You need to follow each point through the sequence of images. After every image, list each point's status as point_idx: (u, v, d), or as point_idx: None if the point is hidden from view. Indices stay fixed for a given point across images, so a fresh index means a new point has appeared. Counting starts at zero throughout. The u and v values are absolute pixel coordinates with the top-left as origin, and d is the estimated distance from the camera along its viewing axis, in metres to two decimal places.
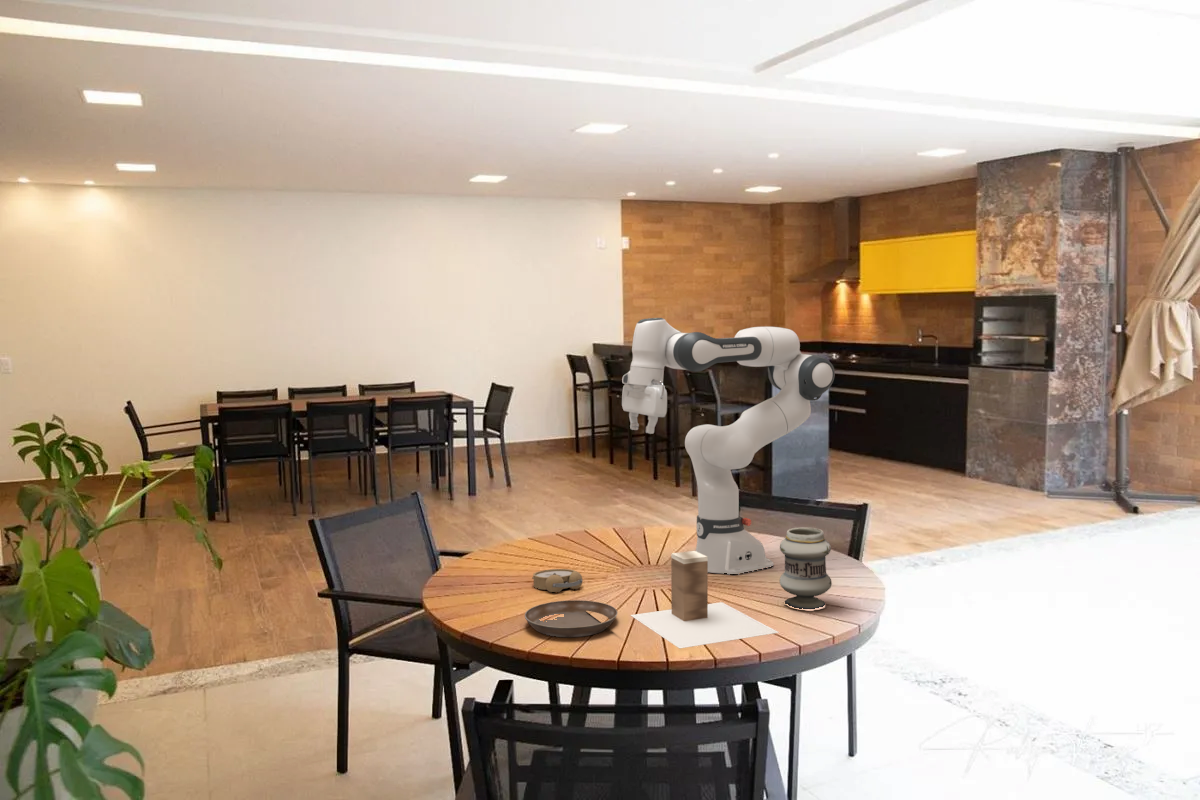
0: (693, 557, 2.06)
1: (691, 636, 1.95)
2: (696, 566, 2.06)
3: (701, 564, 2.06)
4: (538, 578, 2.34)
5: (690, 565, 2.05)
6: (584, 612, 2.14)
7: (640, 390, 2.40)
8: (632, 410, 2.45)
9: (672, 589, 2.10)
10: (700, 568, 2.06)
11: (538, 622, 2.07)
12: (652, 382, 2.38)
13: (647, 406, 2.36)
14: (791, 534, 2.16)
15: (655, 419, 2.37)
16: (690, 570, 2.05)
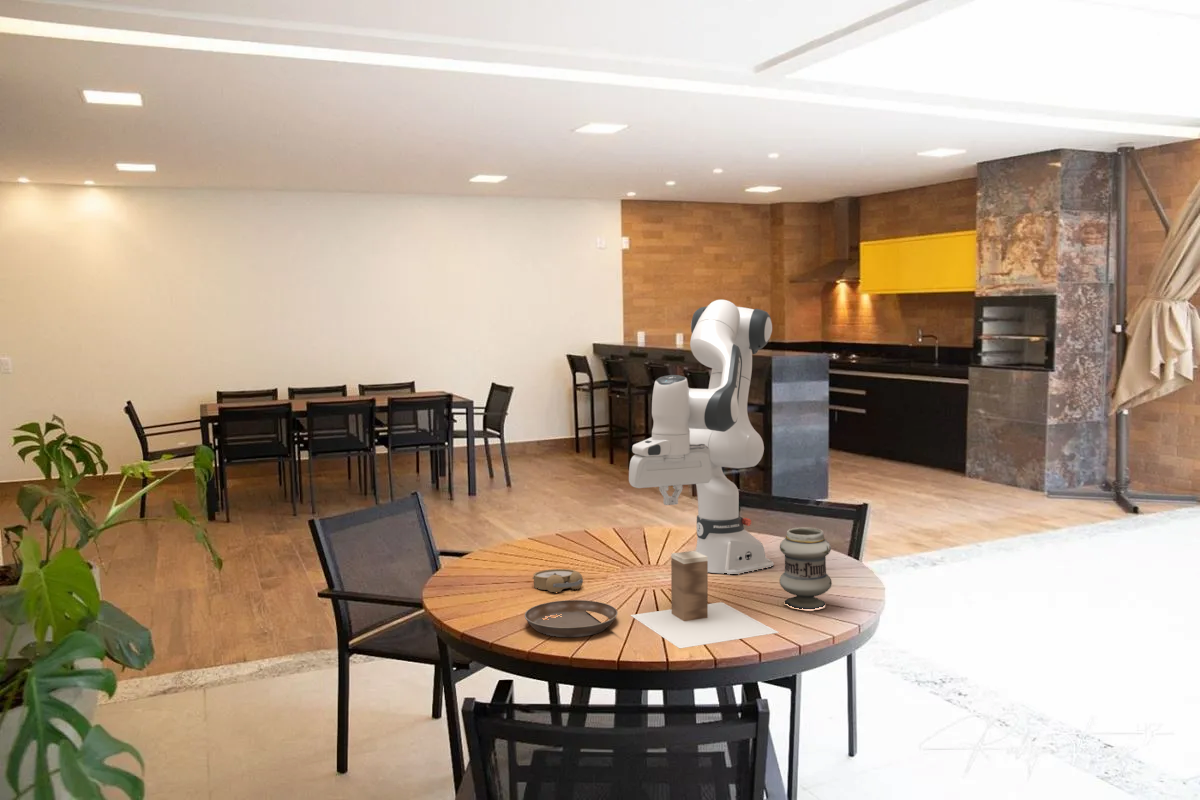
0: (693, 557, 2.06)
1: (691, 636, 1.95)
2: (696, 566, 2.06)
3: (701, 564, 2.06)
4: (538, 578, 2.34)
5: (690, 565, 2.05)
6: (584, 612, 2.14)
7: (683, 459, 2.14)
8: (662, 484, 2.13)
9: (672, 589, 2.10)
10: (700, 568, 2.06)
11: (538, 622, 2.07)
12: (690, 447, 2.16)
13: (696, 474, 2.16)
14: (791, 534, 2.16)
15: None
16: (690, 570, 2.05)
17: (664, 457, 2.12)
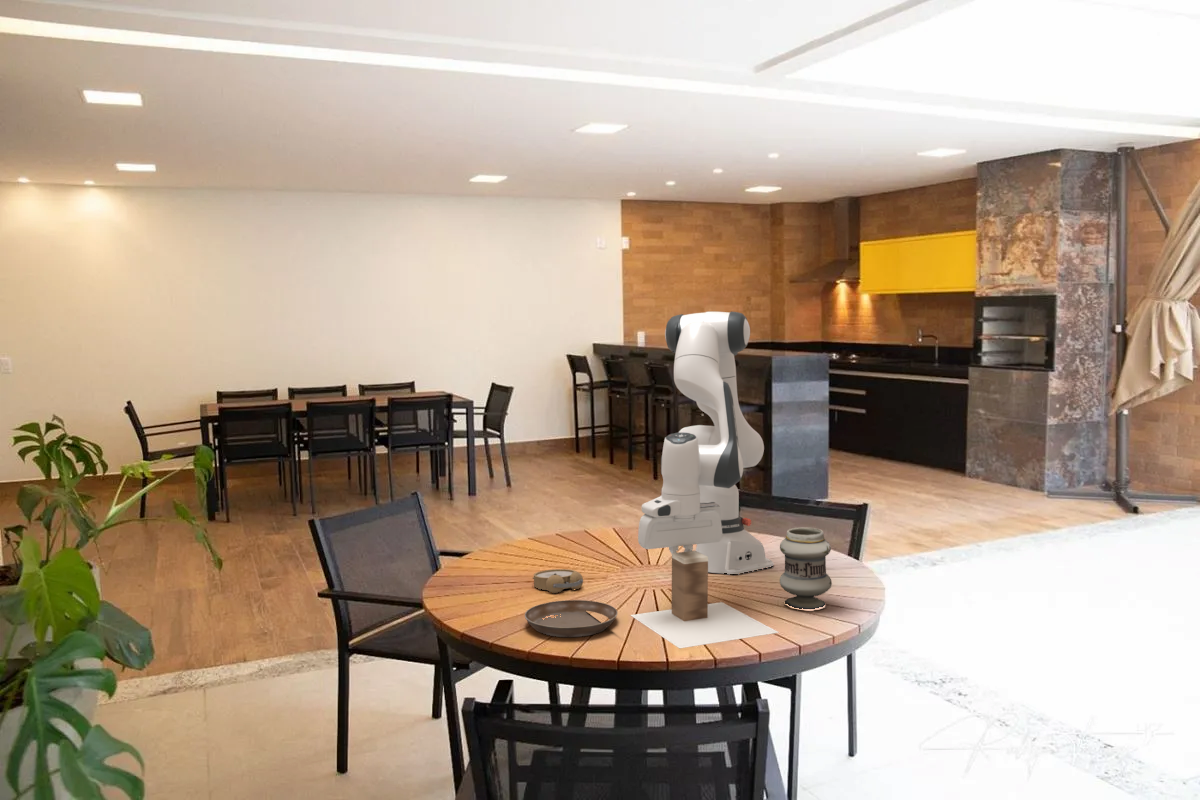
0: (693, 557, 2.06)
1: (691, 636, 1.95)
2: (696, 566, 2.06)
3: (701, 564, 2.06)
4: (539, 578, 2.34)
5: (690, 565, 2.05)
6: (584, 612, 2.14)
7: (693, 518, 2.10)
8: (672, 544, 2.09)
9: (673, 589, 2.10)
10: (700, 568, 2.06)
11: (538, 622, 2.07)
12: (700, 506, 2.12)
13: (706, 533, 2.12)
14: (791, 534, 2.16)
15: None
16: (690, 570, 2.05)
17: (674, 517, 2.08)
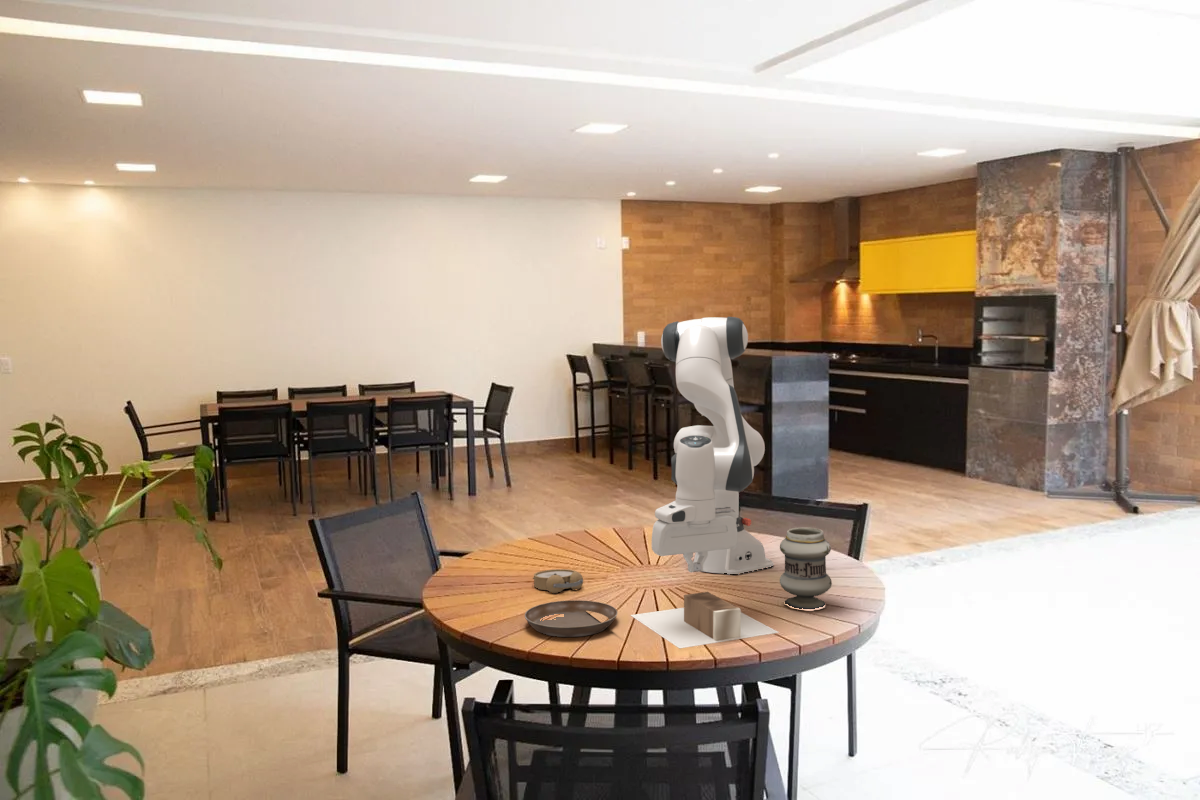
0: (727, 635, 1.94)
1: (691, 636, 1.95)
2: None
3: None
4: (539, 578, 2.34)
5: None
6: (584, 612, 2.14)
7: (708, 524, 2.03)
8: (687, 551, 2.02)
9: (696, 605, 2.00)
10: None
11: (538, 622, 2.07)
12: (716, 511, 2.06)
13: (722, 539, 2.06)
14: (791, 534, 2.16)
15: None
16: None
17: (689, 523, 2.02)
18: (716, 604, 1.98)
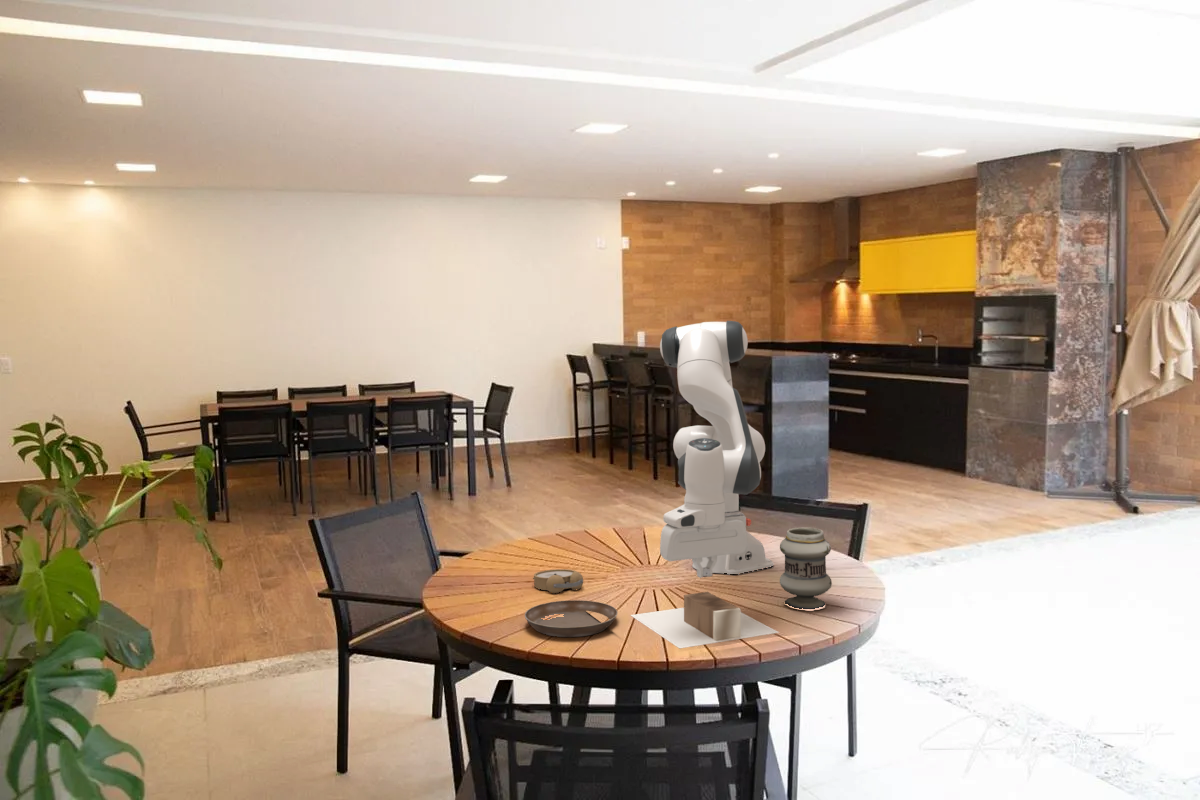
0: (727, 635, 1.94)
1: (691, 636, 1.95)
2: None
3: None
4: (539, 578, 2.34)
5: None
6: (584, 612, 2.14)
7: (718, 529, 2.00)
8: (696, 556, 1.99)
9: (696, 605, 2.00)
10: None
11: (538, 622, 2.07)
12: (725, 515, 2.03)
13: (731, 544, 2.02)
14: (791, 534, 2.16)
15: None
16: None
17: (698, 527, 1.99)
18: (716, 604, 1.98)
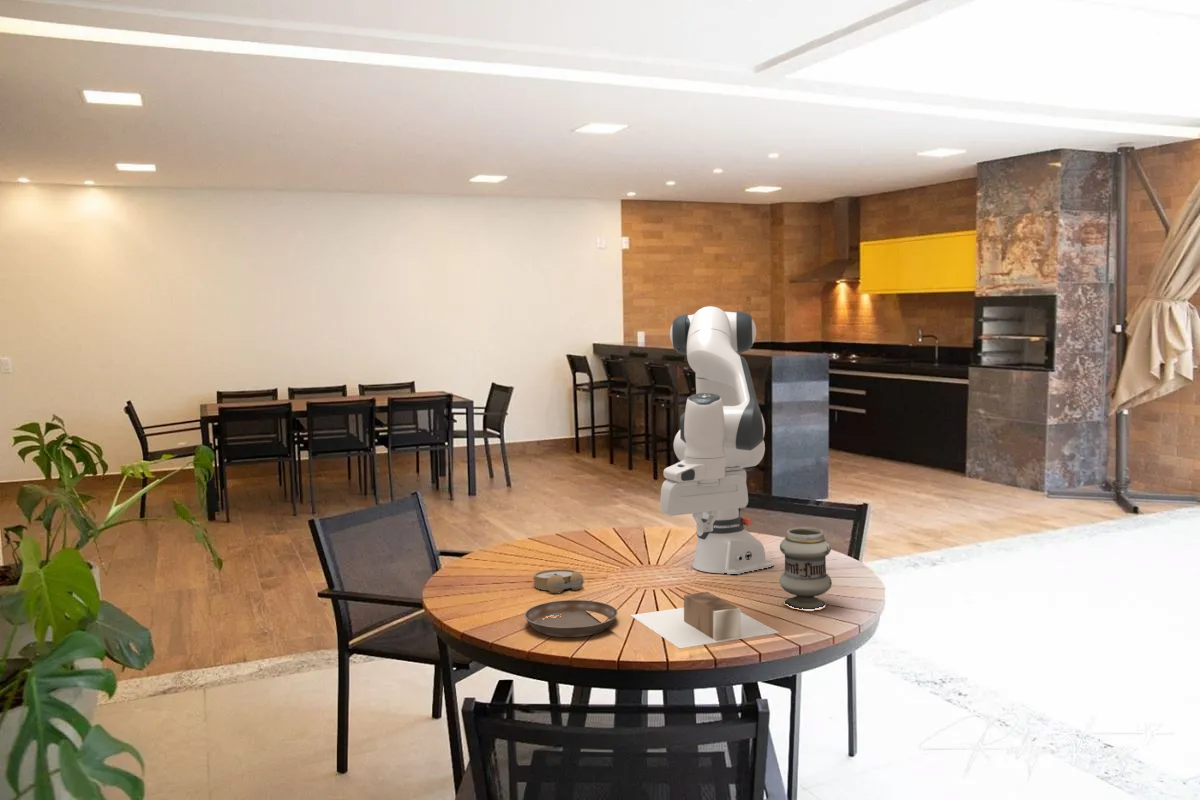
0: (727, 635, 1.94)
1: (691, 636, 1.95)
2: None
3: None
4: (539, 579, 2.34)
5: None
6: (584, 612, 2.14)
7: (718, 483, 1.99)
8: (696, 510, 1.98)
9: (696, 605, 2.00)
10: None
11: (538, 622, 2.07)
12: (725, 470, 2.02)
13: (732, 499, 2.01)
14: (791, 534, 2.16)
15: None
16: None
17: (698, 482, 1.98)
18: (716, 604, 1.98)
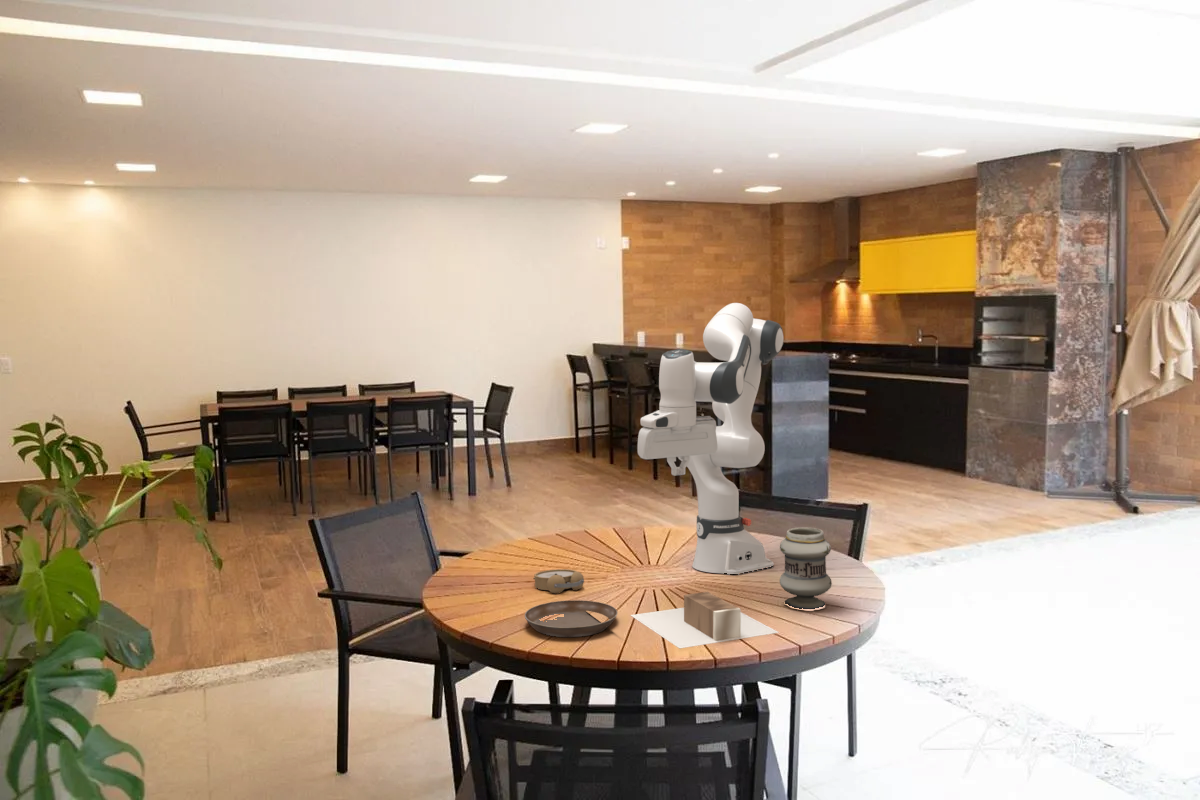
0: (727, 635, 1.94)
1: (691, 636, 1.95)
2: None
3: None
4: (539, 578, 2.34)
5: None
6: (584, 612, 2.14)
7: (690, 430, 2.20)
8: (670, 455, 2.19)
9: (696, 605, 2.00)
10: None
11: (538, 622, 2.07)
12: (696, 419, 2.23)
13: (702, 445, 2.23)
14: (791, 534, 2.16)
15: None
16: None
17: (671, 429, 2.19)
18: (716, 604, 1.98)
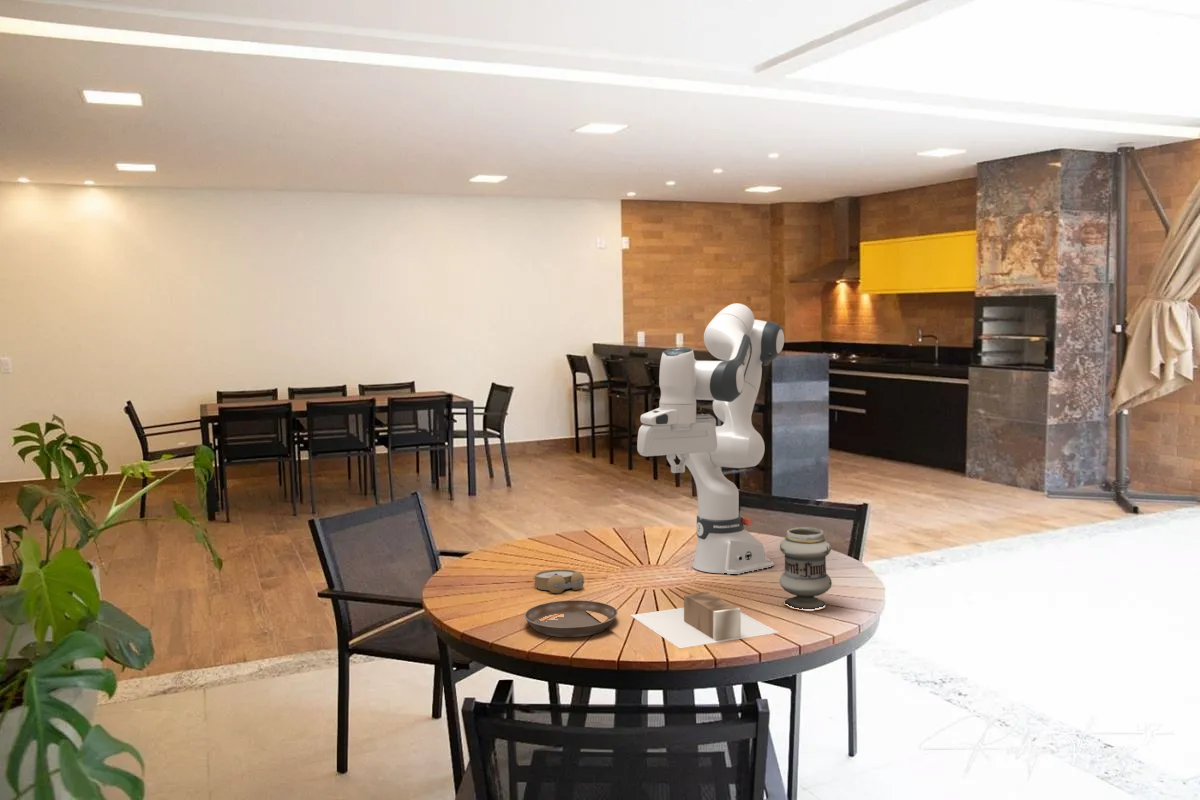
0: (727, 635, 1.94)
1: (691, 636, 1.95)
2: None
3: None
4: (540, 578, 2.34)
5: None
6: (584, 612, 2.14)
7: (689, 428, 2.21)
8: (670, 452, 2.20)
9: (696, 605, 2.00)
10: None
11: (538, 622, 2.07)
12: (696, 417, 2.23)
13: (702, 443, 2.23)
14: (791, 534, 2.16)
15: None
16: None
17: (671, 426, 2.19)
18: (716, 604, 1.98)
